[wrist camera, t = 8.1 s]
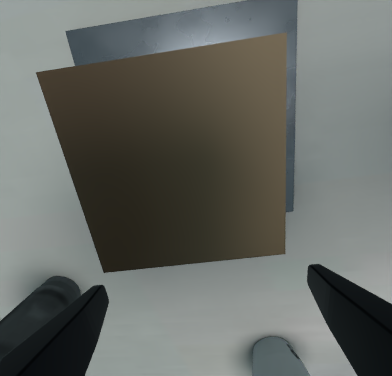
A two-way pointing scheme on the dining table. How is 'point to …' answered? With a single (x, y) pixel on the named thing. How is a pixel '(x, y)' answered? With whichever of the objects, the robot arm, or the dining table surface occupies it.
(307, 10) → the dining table surface
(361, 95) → the dining table surface
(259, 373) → the cup
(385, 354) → the robot arm
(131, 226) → the post
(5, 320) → the beverage cup
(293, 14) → the stand
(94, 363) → the dining table surface
